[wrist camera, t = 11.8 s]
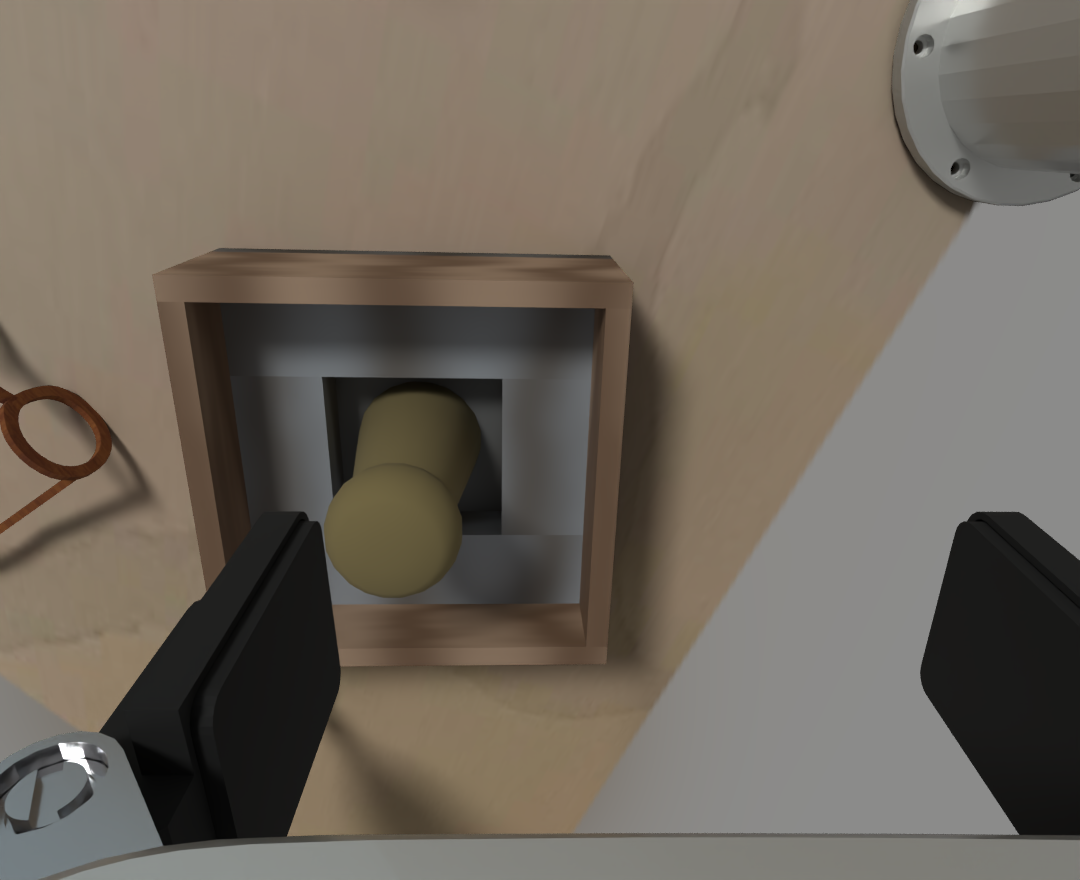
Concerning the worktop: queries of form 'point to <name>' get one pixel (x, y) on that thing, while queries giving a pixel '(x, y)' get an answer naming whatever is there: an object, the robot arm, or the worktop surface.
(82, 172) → the worktop surface
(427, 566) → the cork
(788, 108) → the worktop surface
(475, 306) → the wooden box
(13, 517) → the glasses
